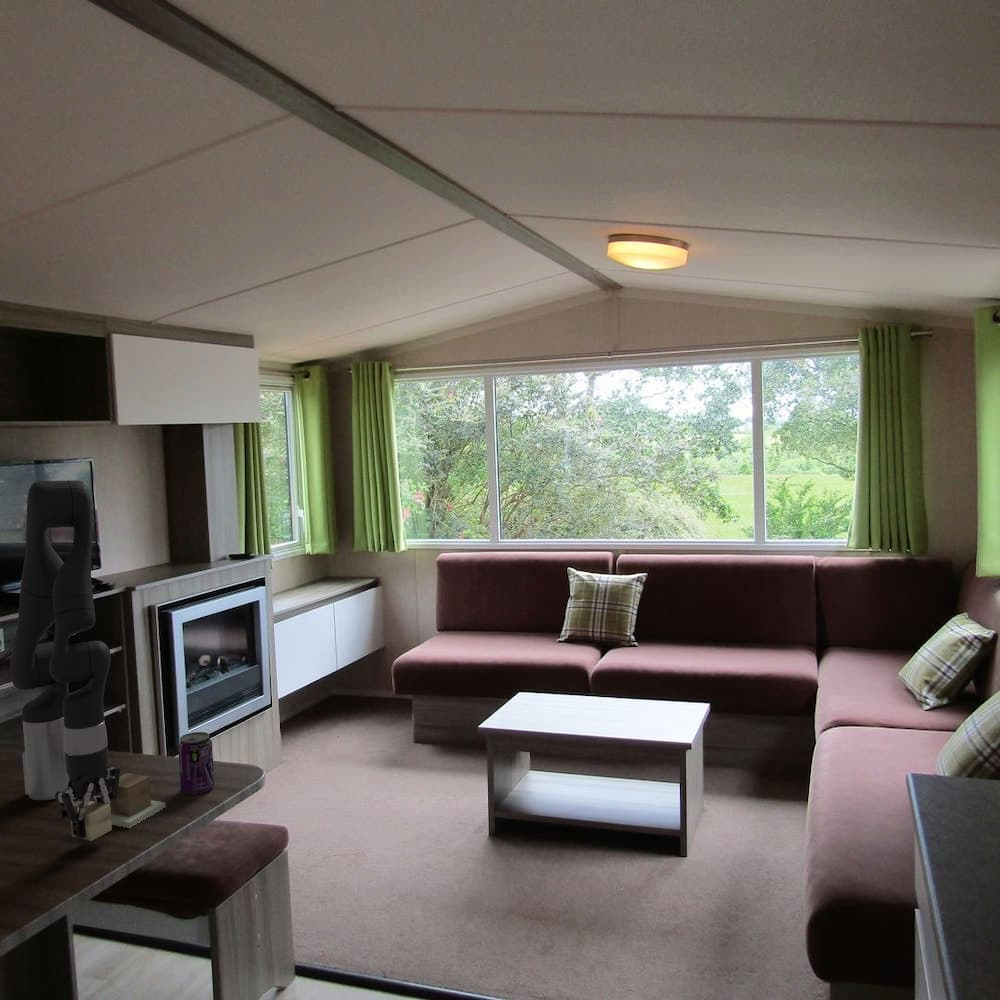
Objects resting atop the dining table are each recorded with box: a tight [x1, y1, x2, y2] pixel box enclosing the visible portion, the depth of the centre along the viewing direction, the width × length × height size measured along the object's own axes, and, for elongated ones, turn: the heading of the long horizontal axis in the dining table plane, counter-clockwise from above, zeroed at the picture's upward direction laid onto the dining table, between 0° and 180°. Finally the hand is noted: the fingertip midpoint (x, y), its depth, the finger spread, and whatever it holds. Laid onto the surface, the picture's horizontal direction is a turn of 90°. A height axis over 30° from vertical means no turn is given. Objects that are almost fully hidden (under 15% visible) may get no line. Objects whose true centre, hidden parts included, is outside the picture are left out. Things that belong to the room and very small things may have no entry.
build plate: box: [111, 799, 166, 829], centre depth 195 cm, size 10×10×1 cm
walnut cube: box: [110, 772, 152, 816], centre depth 195 cm, size 6×6×6 cm
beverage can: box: [177, 731, 216, 795], centre depth 206 cm, size 7×7×12 cm
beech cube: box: [70, 800, 113, 842], centre depth 181 cm, size 5×5×5 cm
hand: (91, 830), depth 182 cm, fingers closed on beech cube, 5 cm apart
